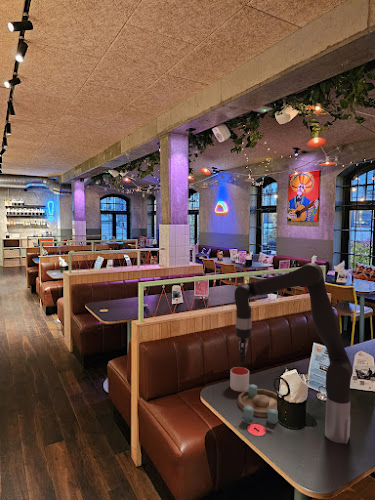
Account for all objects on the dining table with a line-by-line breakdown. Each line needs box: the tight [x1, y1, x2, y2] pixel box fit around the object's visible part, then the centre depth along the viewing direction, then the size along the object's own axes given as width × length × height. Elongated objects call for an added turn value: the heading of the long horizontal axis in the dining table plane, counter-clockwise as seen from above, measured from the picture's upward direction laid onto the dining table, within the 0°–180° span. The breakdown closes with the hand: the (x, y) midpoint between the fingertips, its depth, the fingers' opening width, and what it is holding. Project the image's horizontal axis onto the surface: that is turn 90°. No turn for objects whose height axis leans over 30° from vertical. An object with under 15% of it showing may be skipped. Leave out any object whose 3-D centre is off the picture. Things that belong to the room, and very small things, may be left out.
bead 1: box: [248, 384, 258, 399], centre depth 177 cm, size 4×4×6 cm
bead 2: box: [243, 406, 254, 424], centre depth 158 cm, size 4×4×6 cm
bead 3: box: [267, 409, 279, 425], centre depth 156 cm, size 4×4×6 cm
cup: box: [229, 366, 250, 393], centre depth 187 cm, size 10×10×10 cm
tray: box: [237, 388, 278, 418], centre depth 171 cm, size 23×23×3 cm
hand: (243, 359), depth 166 cm, fingers open, 8 cm apart
